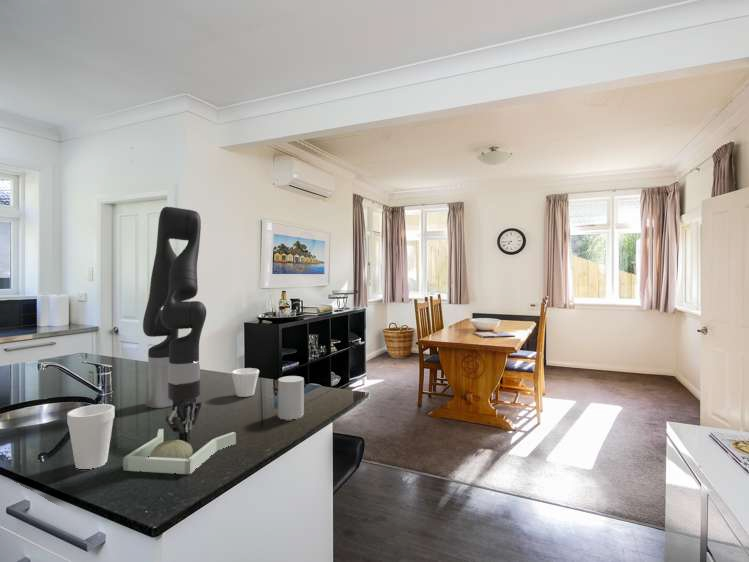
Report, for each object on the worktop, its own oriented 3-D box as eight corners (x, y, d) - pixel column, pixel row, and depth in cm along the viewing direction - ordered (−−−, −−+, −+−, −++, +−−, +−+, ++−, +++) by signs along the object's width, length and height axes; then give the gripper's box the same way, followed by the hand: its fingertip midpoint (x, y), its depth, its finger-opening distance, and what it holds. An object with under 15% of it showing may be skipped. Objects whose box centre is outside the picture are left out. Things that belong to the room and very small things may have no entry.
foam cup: (83, 456, 104) (83, 404, 104) (122, 454, 105) (122, 403, 105) (58, 474, 95) (57, 417, 95) (100, 472, 96) (100, 416, 95)
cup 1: (260, 397, 154) (260, 372, 154) (232, 400, 151) (232, 375, 151) (257, 390, 164) (257, 367, 164) (230, 393, 160) (230, 369, 160)
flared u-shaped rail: (111, 469, 97) (111, 457, 97) (159, 439, 115) (159, 428, 115) (202, 475, 95) (202, 462, 95) (236, 443, 113) (236, 432, 113)
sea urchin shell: (183, 463, 97) (160, 438, 97) (160, 486, 97) (137, 461, 97) (202, 446, 106) (180, 424, 106) (181, 467, 106) (159, 445, 106)
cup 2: (308, 413, 137) (308, 377, 137) (295, 421, 130) (295, 383, 129) (286, 410, 140) (286, 375, 140) (273, 418, 132) (273, 380, 132)
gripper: (184, 372, 114) (185, 434, 114) (154, 385, 101) (154, 455, 101) (211, 372, 113) (211, 436, 114) (183, 386, 100) (183, 457, 100)
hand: (184, 445), depth 107 cm, fingers closed
